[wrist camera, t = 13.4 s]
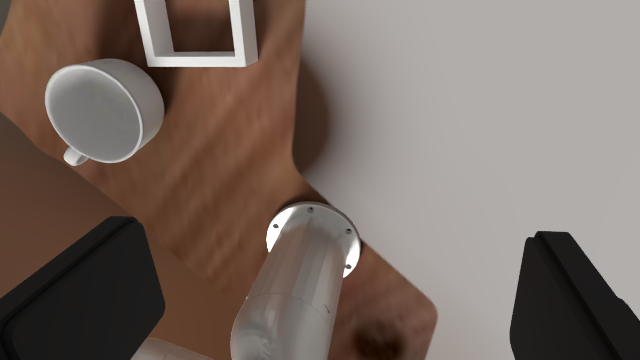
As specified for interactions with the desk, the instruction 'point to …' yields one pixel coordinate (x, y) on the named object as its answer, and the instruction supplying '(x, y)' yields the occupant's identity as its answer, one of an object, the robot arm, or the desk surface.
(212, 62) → the bottle caddy
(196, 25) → the desk surface
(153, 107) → the teacup
